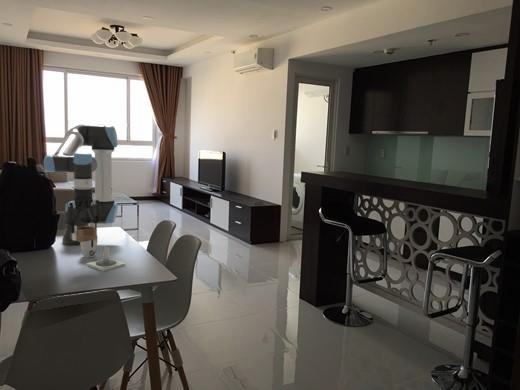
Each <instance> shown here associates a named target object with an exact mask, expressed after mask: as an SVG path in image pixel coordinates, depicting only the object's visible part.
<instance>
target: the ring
mask: <svg viewBox="0 0 520 390" xmlns="http://www.w3.org/2000/svg"><path fill="white" fill-rule="evenodd" d="M70 233H71V232H70ZM97 236H98V227H97V228H94V227H90V226H81V227H77V241H78V242H84V241H90V240H96V239H97V240H98V237H97ZM71 239H72V233H71Z"/></svg>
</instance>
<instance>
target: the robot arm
mask: <svg viewBox="0 0 520 390" xmlns="http://www.w3.org/2000/svg"><path fill="white" fill-rule="evenodd" d="M81 147H91V151H92V152H94V157H93V155H92V153H91V152H90V153H89V152H78V149H79V148H81ZM117 147H118V135H117V130H116V128H115V127H114V126H113V125H111V124H110V125H109V124H91V123H90V124H88V123H84V124H79V125H76V126H74V127H72V128H70V129H69V130H67V131H66V133H65V134H64V137H63V141H62V142H61V144H60V145H59V147H58V148H57V150H56V151H55V152H54V154H51V155H50V154H48V155H45V156H44V158H43V169H44V170H45V171H46V172H47V173H73V188H74V189H73V197H74V199H73V200H71V201H67V202H66V203H65V209H64V214H65V229H64V233H63V236H62V239H61V241H62V244H64V245H66V246H69V245H70V246H80V242H78V241H77V227H81V226H89V225H90V227H94V228H97V229H98V227H97V224H105V225H106V224H114V223H115V221H116V219H117V215H118V208H119V207H118V203H117V202H116V201H115V198H114V197H113V196H112V195H113V194H112V192H113V191H112V190H113V189H112V182H113V181H112V180H113V179H112V175H113V174H112V168H113V167H112V165H113V164H112V153H113V152H115V148H117ZM93 173H94V196H93V189H92V188H93ZM70 232H71V233H72V239H71V233H70Z"/></svg>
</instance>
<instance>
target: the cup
mask: <svg viewBox="0 0 520 390" xmlns="http://www.w3.org/2000/svg"><path fill="white" fill-rule="evenodd" d="M79 246H80V250H81V253H82V257H83V258H93V257H95V256H96V252H97V248H98V235H97V239H96V240H90V241H84V242H80V245H79Z"/></svg>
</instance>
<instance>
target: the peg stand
mask: <svg viewBox="0 0 520 390" xmlns="http://www.w3.org/2000/svg"><path fill="white" fill-rule="evenodd" d="M86 266H88V267H90V268H93V269H95V270H98V271H101V272H105V271H108V270H112V269H117V268H120V267H121V268H122V267H125V266H126V262H123V261H120V260H116V259H113V258H110V246H109V247H108V246H107V247H106V246H104V247H102V259H100V260H95V261H91V262H88V263H86Z"/></svg>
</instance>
